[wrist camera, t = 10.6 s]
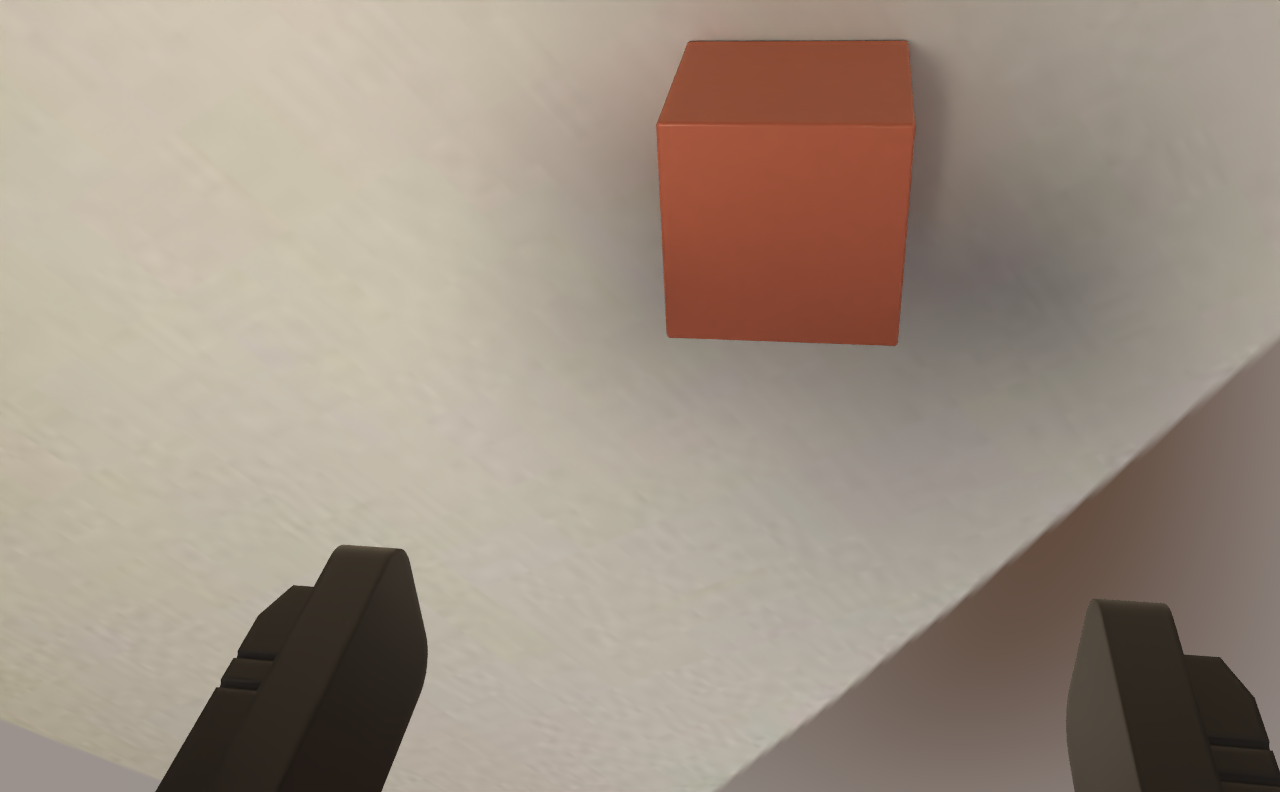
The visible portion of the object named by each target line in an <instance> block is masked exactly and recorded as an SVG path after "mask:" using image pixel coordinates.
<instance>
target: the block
mask: <svg viewBox="0 0 1280 792" xmlns="http://www.w3.org/2000/svg"><path fill="white" fill-rule="evenodd" d="M656 130H657V150H658V170H659V190H660V210H661V230H662V250H663V271H664V291H665V311H666V331H667V336H668V337H670V338H696V339H723V340H750V341H777V342H804V343H831V344H858V345H885V346H895V345H897V343H898V335H899V323H900V310H901V298H902V286H903V273H904V261H905V249H906V237H907V224H908V212H909V200H910V187H911V175H912V163H913V150H914V138H915V116H914V104H913V92H912V80H911V68H910V55H909V44H908V42H907V41H694V42H688V43H687V46H686V49H685V51H684V54H683V56H682V59H681V62H680V64H679V67H678V70H677V72H676V75H675V77H674V80H673V83H672V85H671V88H670V90H669V93H668V96H667V98H666V101H665V103H664V106H663V109H662V111H661V114H660V116H659V119H658V122H657V124H656Z"/></svg>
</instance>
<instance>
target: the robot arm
mask: <svg viewBox="0 0 1280 792" xmlns="http://www.w3.org/2000/svg"><path fill="white" fill-rule="evenodd" d="M427 657H428V647H427V638H426V633H425V628H424V624H423V619H422V615H421V610H420V606H419V601H418V597H417V593H416V588H415V584H414V579H413V575H412V570H411V566H410V562H409V558H408V556H407V554H406V552H405V551H404V550H403V549H397V548H382V547H367V546H353V545H341V546H339V547H337V548H336V549H335V550H334V552H333V553H332V555H331V556H330V558H329V560H328V562H327V564H326V565H325V567H324V569H323V571H322V573H321V575H320V576H319V578H318V580H317V582H316V584H315V586H314V587H309V586H295V585H293V586H292V587H291V588H289V589H288V590H287V591H286V592H285V593H284V594H283V595H281V596H280V597H279V598H278V599H277V600H276V601H274V602H273V603H272V604H271V605H270V606H269V607H268V608H266V609H265V610H264V611H263V612H262V613H261V614H260V615H258V617H257V619H256V620H255V622H254V624H253V626H252V627H251V629H250V631H249V632H248V634H247V636H246V638H245V639H244V641H243V643H242V644H241V646H240V648H239V650H238V656H237V658H233V660H232V661H231V663H230V665H229V667H228V668H227V670H226V672H225V673H224V675H223V677H222V679H221V685H220V687H219V688H218V687H216V689H215V691H214V692H213V694H212V696H211V697H210V699H209V701H208V703H207V704H206V706H205V708H204V709H203V711H202V713H201V715H200V716H199V718H198V720H197V721H196V723H195V725H194V727H193V728H192V730H191V732H190V733H189V735H188V737H187V739H186V740H185V742H184V744H183V745H182V747H181V749H180V751H179V752H178V754H177V756H176V757H175V759H174V761H173V763H172V764H171V766H170V768H169V769H168V771H167V773H166V775H165V776H164V778H163V780H162V781H161V783H160V785H159V787H158V789H157V790H156V792H381V791H382V789H383V786H384V784H385V781H386V779H387V776H388V774H389V771H390V769H391V766H392V764H393V761H394V759H395V756H396V754H397V751H398V749H399V746H400V744H401V741H402V738H403V736H404V733H405V731H406V728H407V726H408V723H409V721H410V718H411V716H412V713H413V711H414V708H415V706H416V703H417V701H418V698H419V696H420V693H421V690H422V687H423V684H424V680H425V675H426V668H427ZM1066 729H1067V730H1066V732H1067V746H1068V754H1069V759H1070V766H1071V771H1072V777H1073V784H1074V790H1075V792H1280V771H1279V768H1278V765H1277V762H1276V759H1275V756H1274V753H1273V751H1270V749H1269V739H1268V736H1267V733H1266V730H1265V727H1264V724H1263V721H1262V718H1261V715H1260V713H1259V710H1258V707H1257V704H1256V701H1255V698H1254V697H1253V696H1252V694H1251V693H1250V692H1249V691H1248V690H1247V688H1246V687H1245V686H1244V685H1243V684H1242V682H1241V681H1240V680H1239V679H1238V678H1237V677H1236V676H1235V674H1234V673H1233V672H1232V671H1231V670H1230V669H1229V667H1228V666H1227V665H1226V664H1225V663H1224V661H1223V660H1222V659H1221V658H1220V657H1209V656H1195V655H1184V654H1183V650H1182V647H1181V643H1180V640H1179V636H1178V633H1177V629H1176V626H1175V623H1174V619H1173V616H1172V613H1171V611H1170V609H1169V607H1168V606H1167V605H1166V604H1164V603H1149V602H1135V601H1120V600H1106V599H1092V600H1091V601H1090V603H1089V606H1088V609H1087V613H1086V617H1085V621H1084V626H1083V630H1082V635H1081V639H1080V644H1079V649H1078V653H1077V658H1076V662H1075V666H1074V671H1073V675H1072V680H1071V684H1070V689H1069V694H1068V701H1067V717H1066Z"/></svg>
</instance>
